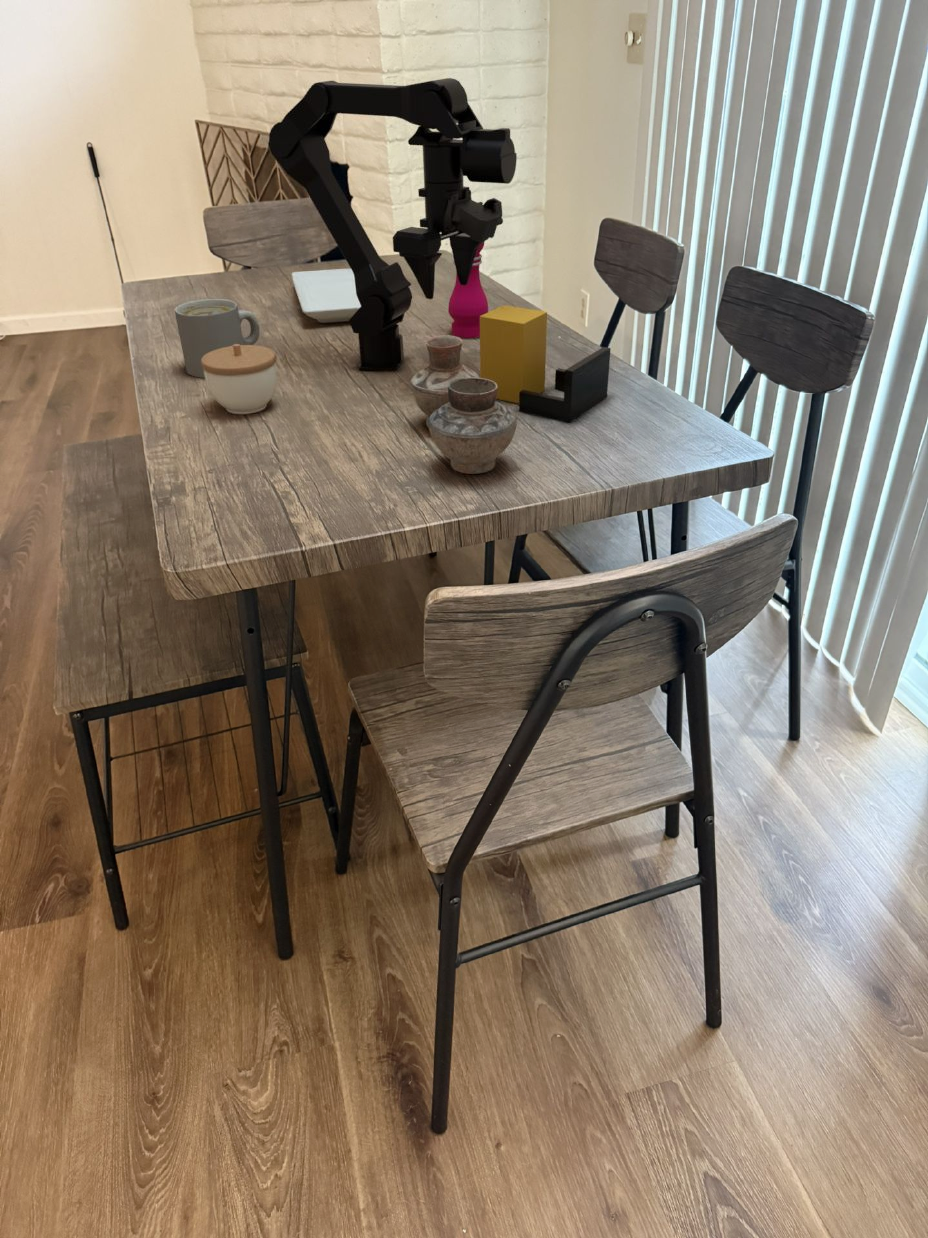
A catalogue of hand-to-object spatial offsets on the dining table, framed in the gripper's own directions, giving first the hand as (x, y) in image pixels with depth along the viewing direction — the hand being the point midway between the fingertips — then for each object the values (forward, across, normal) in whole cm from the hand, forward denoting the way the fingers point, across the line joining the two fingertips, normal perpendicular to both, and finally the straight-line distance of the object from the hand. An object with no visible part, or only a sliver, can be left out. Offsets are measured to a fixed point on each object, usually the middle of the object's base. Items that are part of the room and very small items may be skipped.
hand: (447, 291), depth 138 cm
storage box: (+13, -2, -13) cm, 19 cm away
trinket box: (+13, -28, +18) cm, 36 cm away
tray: (+13, +23, +43) cm, 50 cm away
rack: (+13, -2, -22) cm, 26 cm away
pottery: (+13, -23, -17) cm, 31 cm away
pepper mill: (+13, +20, +10) cm, 26 cm away
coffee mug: (+13, -16, +34) cm, 40 cm away
